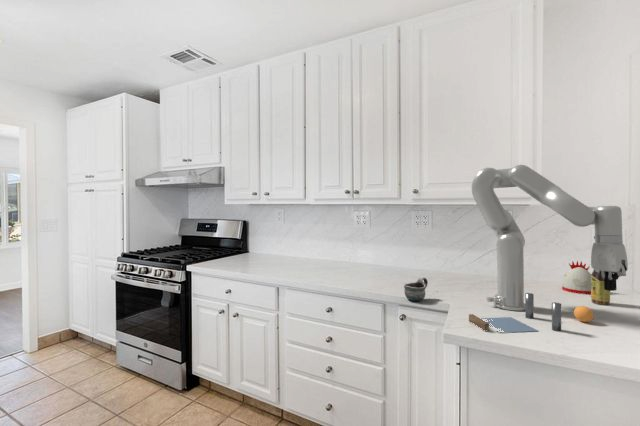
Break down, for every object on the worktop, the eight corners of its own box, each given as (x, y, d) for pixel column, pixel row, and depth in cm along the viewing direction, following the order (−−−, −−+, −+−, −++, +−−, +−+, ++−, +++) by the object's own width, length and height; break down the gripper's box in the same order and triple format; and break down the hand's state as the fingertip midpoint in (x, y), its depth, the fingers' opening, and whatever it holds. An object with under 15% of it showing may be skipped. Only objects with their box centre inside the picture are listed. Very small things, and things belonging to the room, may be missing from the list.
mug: (399, 300, 148) (399, 278, 148) (414, 295, 157) (414, 274, 156) (418, 304, 141) (418, 281, 141) (433, 299, 149) (433, 277, 149)
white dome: (561, 286, 171) (561, 258, 171) (595, 289, 163) (595, 260, 163) (562, 292, 160) (562, 261, 160) (599, 296, 152) (599, 264, 152)
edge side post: (556, 331, 109) (556, 304, 109) (549, 328, 111) (549, 302, 111) (563, 331, 109) (563, 304, 109) (557, 328, 112) (557, 302, 112)
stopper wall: (484, 331, 110) (484, 323, 110) (468, 321, 120) (468, 314, 120) (488, 331, 110) (488, 323, 110) (472, 320, 120) (472, 314, 120)
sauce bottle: (591, 300, 145) (591, 256, 144) (609, 303, 141) (609, 257, 140) (591, 303, 139) (591, 257, 139) (610, 306, 135) (610, 259, 135)
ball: (583, 324, 115) (583, 308, 115) (569, 319, 120) (569, 304, 120) (598, 324, 115) (598, 308, 115) (583, 318, 121) (583, 303, 121)
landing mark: (499, 333, 108) (499, 332, 108) (475, 318, 122) (475, 318, 122) (538, 331, 109) (538, 330, 109) (510, 317, 123) (510, 317, 123)
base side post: (528, 318, 122) (528, 294, 121) (523, 316, 124) (523, 293, 124) (535, 318, 122) (535, 294, 122) (530, 316, 124) (530, 292, 124)
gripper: (580, 238, 125) (582, 286, 125) (619, 241, 110) (621, 295, 110) (598, 238, 126) (600, 285, 126) (639, 241, 111) (641, 294, 111)
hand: (610, 290), depth 118 cm, fingers closed
